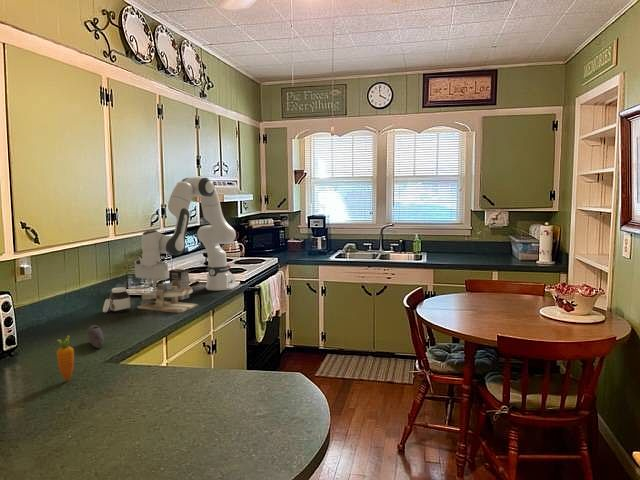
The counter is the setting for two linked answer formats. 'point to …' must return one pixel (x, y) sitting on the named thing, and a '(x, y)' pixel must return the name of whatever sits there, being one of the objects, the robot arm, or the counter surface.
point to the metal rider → (165, 287)
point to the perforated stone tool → (95, 336)
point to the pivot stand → (167, 304)
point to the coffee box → (179, 280)
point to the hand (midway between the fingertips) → (152, 286)
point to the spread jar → (117, 300)
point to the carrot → (65, 359)
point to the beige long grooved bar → (166, 294)
